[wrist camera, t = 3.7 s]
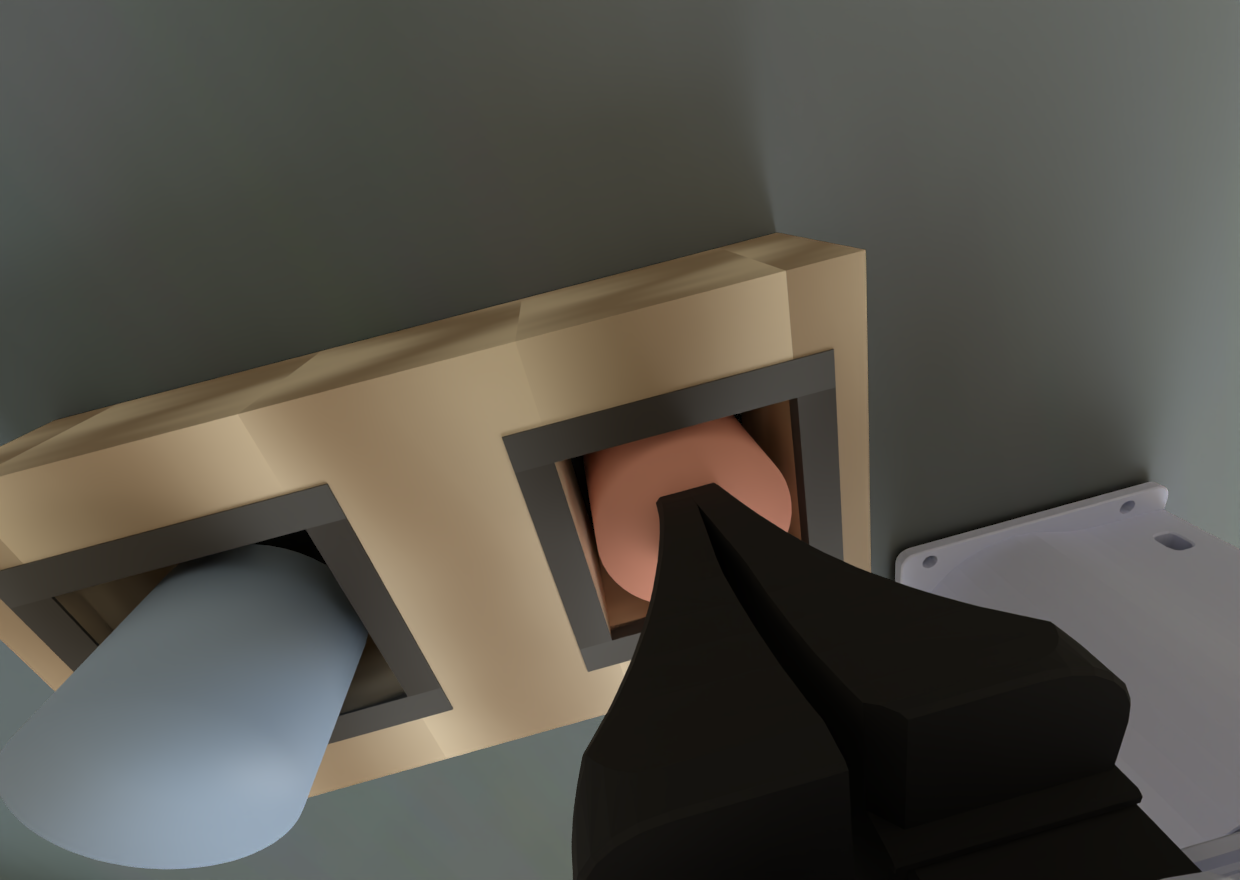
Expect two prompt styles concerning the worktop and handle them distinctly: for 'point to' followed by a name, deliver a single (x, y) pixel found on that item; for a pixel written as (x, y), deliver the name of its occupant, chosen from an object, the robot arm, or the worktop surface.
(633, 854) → the robot arm
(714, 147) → the worktop surface
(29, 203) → the worktop surface
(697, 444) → the pink ball
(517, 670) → the peg block
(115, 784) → the blue peg
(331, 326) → the worktop surface
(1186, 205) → the worktop surface
